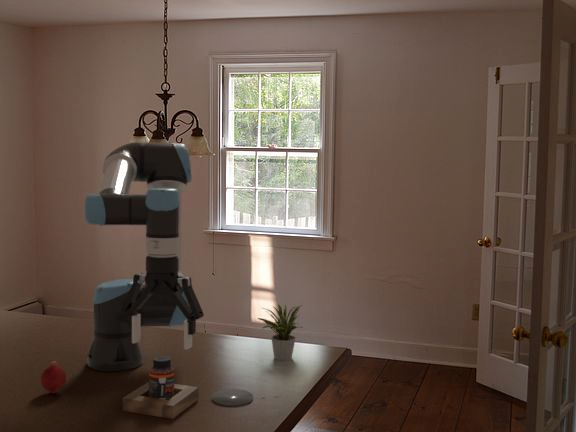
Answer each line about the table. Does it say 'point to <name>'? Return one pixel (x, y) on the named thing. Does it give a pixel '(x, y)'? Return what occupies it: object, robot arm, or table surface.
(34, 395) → the table surface
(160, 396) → the supplement bottle
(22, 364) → the table surface
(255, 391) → the table surface
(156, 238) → the robot arm
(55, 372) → the onion
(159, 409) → the pocket holder
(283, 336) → the house plant
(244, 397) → the grey domed disc
